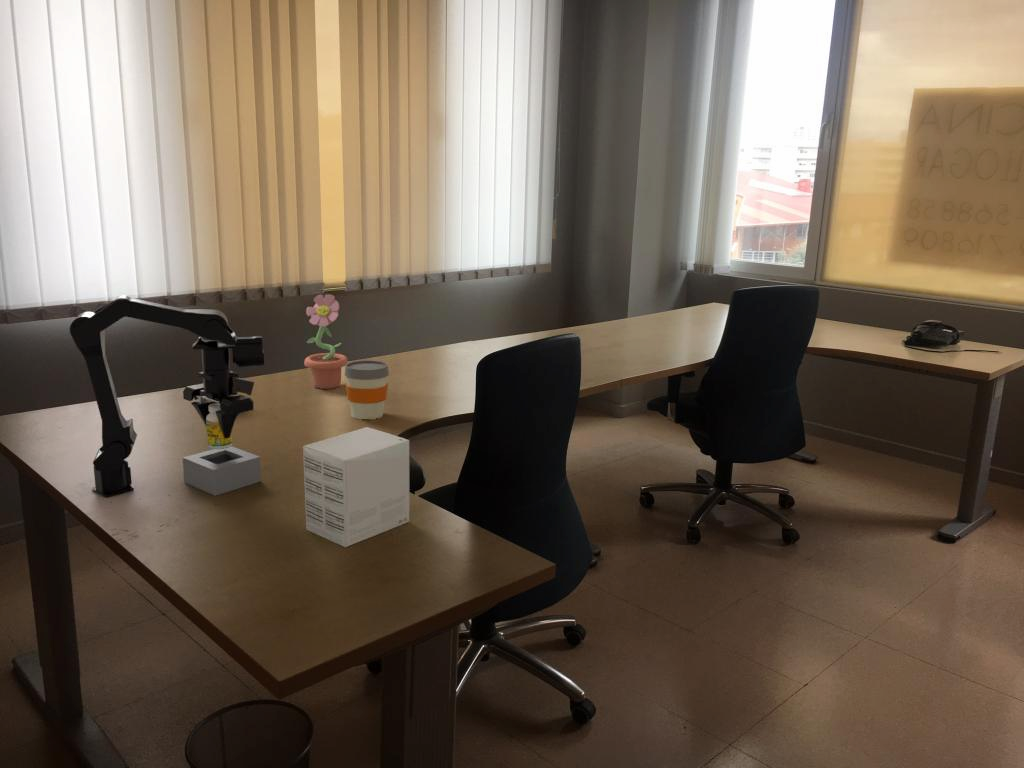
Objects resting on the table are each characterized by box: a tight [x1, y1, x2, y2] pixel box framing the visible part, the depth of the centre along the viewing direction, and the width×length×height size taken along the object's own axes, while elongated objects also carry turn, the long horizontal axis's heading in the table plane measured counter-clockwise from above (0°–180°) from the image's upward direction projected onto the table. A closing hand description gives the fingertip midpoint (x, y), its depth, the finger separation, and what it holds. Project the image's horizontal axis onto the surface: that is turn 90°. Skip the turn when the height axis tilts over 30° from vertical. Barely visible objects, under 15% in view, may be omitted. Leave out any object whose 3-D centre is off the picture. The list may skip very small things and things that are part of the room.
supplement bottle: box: [205, 403, 233, 450], centre depth 197 cm, size 5×5×10 cm
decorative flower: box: [304, 293, 349, 390], centre depth 281 cm, size 15×14×30 cm
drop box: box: [182, 445, 262, 497], centre depth 199 cm, size 12×12×6 cm
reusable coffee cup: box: [344, 359, 389, 420], centre depth 253 cm, size 13×13×15 cm
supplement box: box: [302, 426, 410, 548], centre depth 177 cm, size 17×13×18 cm
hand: (219, 435), depth 197 cm, fingers closed on supplement bottle, 5 cm apart
